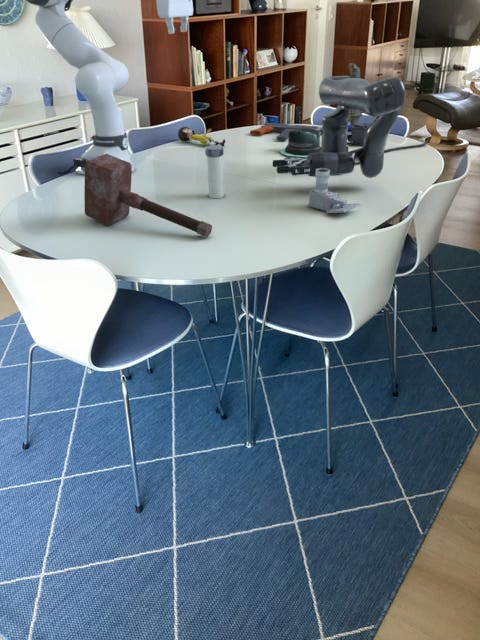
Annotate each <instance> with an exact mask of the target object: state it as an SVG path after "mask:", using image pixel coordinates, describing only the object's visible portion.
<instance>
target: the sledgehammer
mask: <svg viewBox="0 0 480 640" xmlns="http://www.w3.org/2000/svg"><path fill="white" fill-rule="evenodd" d="M132 165H133V164H132ZM132 165H131V164H130V163H129V162H127V161H124V160H122V159H119V158H116V157H114V156H111V155H109V154H104V155H101V156H99V157H96V158H93V159H90V160H87V161H86V163H85V175H84V193H83V194H84V197H83V199H84V200H83V201H84V215H85V216H86V217H88V218H90V219H92V220H95V221H97V222H99V223H101V224H104V225H107V226H112V225H114V224H115V223H118V222H119V221H121V220H123V219H125V218H127V217H129V216H130V208H132V209H137V210H139V211H141V212H143V211H144V212H146V213H149V214H151V215H154V216H156V217H159V218H160V219H163V220H166V221H168V222H171V223H173V224H175V225H178V226H180V227H183V228H184V229H187V230H190V231H193V232H195V233H196V234H198V235H200V236H202V237H205V238H208V237H209V236H210V235H211V233H212V230H213V224H211V223H208V222H205V221H203V220H201V221H200V220H198V219H196V218H193V217H190V216H188V215H185V214H183V213H181V212H179V211H176V210H174V209H171V208H168V207H166V206H164V205H161V204H159V203H157V202H155V201H151V200H149V199H148V198H146V197H143V196H141V195H139V193H136V192H132V174H133V171H132Z"/></svg>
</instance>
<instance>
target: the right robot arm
mask: <svg viewBox="0 0 480 640" xmlns="http://www.w3.org/2000/svg"><path fill="white" fill-rule="evenodd" d="M406 95H407V94H406V88H405V84H404V83H403V80H402V79H401V78H400V77H398V76H391V77H386V78H383V79H380V80H377V81H374V82H371V83H370V82H369V81H368V80H366V79H364V78H361V77H360V78H351V77H350V75H333V76H332V75H331V76H326V77H324V78H323V79H322V80H321V82H320V84H319V87H318V96H319V99H320V101H321V102H322V103H323V104H324V105H327V106H331V105H332V106H334V105H335V106H337V107H336V108H335V109H333V110H332V111H331V112H328V113H326V114H324V115H323V117H322V125H321V129H322V135H321V144H320V146H321V153H309V154H308V156H307V157H306V159H304V158H303V157H297V156H285V157H283V159H273V160H272V167H273V168H276V173H277V174H289V175H291V176H301V175H307V176H308V177H315V173H316V169H318V168H327V169H329V170H330V175H329V176H334V175H346V174H351V173H353V172H354V170H355V165H359V167H360V171H361V174H362V175H363V177H365V178H368V179H373V178H376V177H377V176H379V175H380V174H381V173H382V171H383V169H384V161H385V160H384V158H385V153H387V152H391V151H398V150H405V149H413V148H420V147H424V146H426V145H427V144H429V143H430V139H426V140H425V141H424V143H420V144H413V145H406V146H398V147H393V148H392V147H391V148H387V149H385V148H386V145H387V142H388V138H389V135H390V132H391V130H392V128H393V126H394V124H395V122H396V121H397V119H398V117H399V115H400V113H401V112H402V109H403V108H404V105H405V102H406ZM350 109H353V110H358V111H362V114H365V115H367V116H369V117H372V118H375V119H374V120H373V121H372V122H371V123H370V124H371V125H370V126H369V128H368V129H367V131H366V134H365V137H364V142H363V145H362V147H359V148H356V149H352V150H350V151H349V145H348V140H347V133H348V120H349V115H350Z"/></svg>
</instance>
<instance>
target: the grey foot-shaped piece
mask: <svg viewBox="0 0 480 640" xmlns="http://www.w3.org/2000/svg"><path fill="white" fill-rule="evenodd" d="M330 176H331V175H330V170H329V169H327V168H318V169H316V173H315V176H314V178H315V188H313V189H311V190H309V192H308V193H309V194H308V195H309V196H308V207H310V208H313V209H317V210H319V211H320V210H321V211H324V212H325V214H344V213H345V214H346V213H347V212H349V211H351V210H353V209H355V208H357V207H360V206H361V203H359V202H357V203H348V200H347V199H344V198H341V197H339V194H338V193H337V192H334V191H330V190H328V187H329V180H330Z"/></svg>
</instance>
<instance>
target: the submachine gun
mask: <svg viewBox="0 0 480 640" xmlns="http://www.w3.org/2000/svg"><path fill="white" fill-rule="evenodd" d="M298 128H311V129H316V130H318V131H319V132H320V136H322V128H319V127H318V126H315V125H313V126H312V125H304V124H303V125H302V124H291V123H278V122H264V124H262V125H261V126H260V127H259V128H256V129H252V130H250V131H249V134H250V135H251V136H257V137H258V136H261V135H265V134H268V133H278V135H277V136H276V141H287V140H288V139H289V131H291V130H294V129H298ZM318 128H319V129H318Z"/></svg>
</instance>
